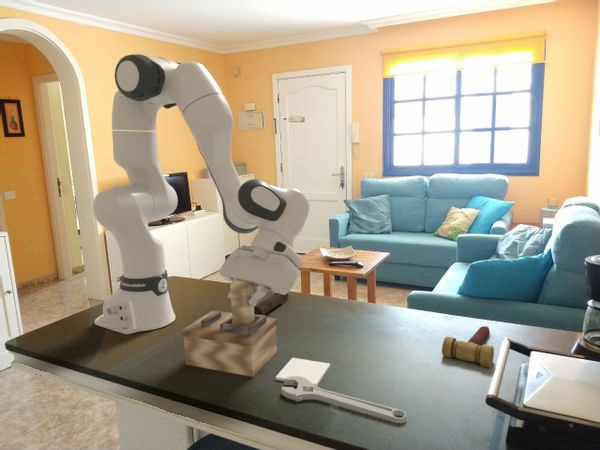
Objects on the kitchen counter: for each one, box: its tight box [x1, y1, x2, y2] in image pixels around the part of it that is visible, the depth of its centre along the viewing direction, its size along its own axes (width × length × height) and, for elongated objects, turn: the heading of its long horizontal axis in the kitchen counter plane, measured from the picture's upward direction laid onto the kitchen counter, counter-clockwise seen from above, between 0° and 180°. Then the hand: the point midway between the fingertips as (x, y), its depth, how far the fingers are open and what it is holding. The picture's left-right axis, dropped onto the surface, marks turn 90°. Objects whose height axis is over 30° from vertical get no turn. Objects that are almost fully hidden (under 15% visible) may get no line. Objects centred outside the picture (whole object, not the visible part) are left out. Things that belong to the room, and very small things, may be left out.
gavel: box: [441, 325, 495, 369], centre depth 104 cm, size 21×5×10 cm
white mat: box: [275, 357, 331, 387], centre depth 94 cm, size 9×9×1 cm
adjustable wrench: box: [280, 376, 407, 424], centre depth 82 cm, size 25×6×2 cm, turn 56°
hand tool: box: [254, 292, 290, 316], centre depth 133 cm, size 19×4×5 cm, turn 150°
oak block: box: [229, 281, 255, 327], centre depth 98 cm, size 4×4×10 cm
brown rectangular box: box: [180, 310, 278, 377], centre depth 101 cm, size 18×13×10 cm
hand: (240, 302), depth 98 cm, fingers closed on oak block, 4 cm apart
